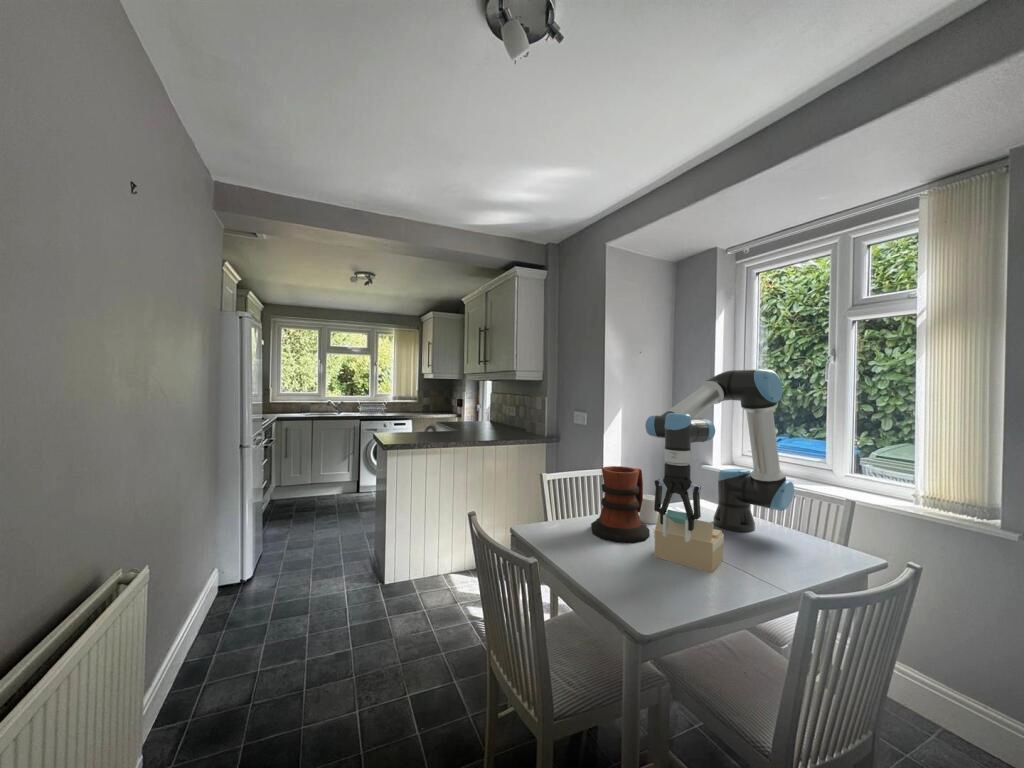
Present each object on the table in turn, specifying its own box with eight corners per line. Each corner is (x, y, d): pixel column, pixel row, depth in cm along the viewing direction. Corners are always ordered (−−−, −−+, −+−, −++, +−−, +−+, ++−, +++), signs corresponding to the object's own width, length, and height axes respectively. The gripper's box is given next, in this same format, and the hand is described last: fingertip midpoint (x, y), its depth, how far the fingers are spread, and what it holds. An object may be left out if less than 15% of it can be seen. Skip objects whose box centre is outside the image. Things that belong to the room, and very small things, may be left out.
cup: (649, 525, 173) (649, 500, 173) (629, 517, 183) (629, 493, 184) (664, 522, 176) (664, 498, 176) (643, 514, 187) (643, 491, 187)
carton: (667, 546, 150) (667, 519, 150) (723, 560, 138) (723, 531, 138) (654, 556, 141) (654, 527, 141) (713, 573, 129) (713, 541, 129)
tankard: (579, 531, 165) (579, 468, 165) (617, 518, 181) (617, 461, 181) (627, 548, 148) (628, 478, 148) (664, 532, 165) (665, 469, 165)
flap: (659, 512, 143) (650, 505, 137) (713, 523, 132) (706, 516, 126) (656, 529, 141) (646, 523, 135) (711, 542, 129) (703, 535, 124)
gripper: (642, 460, 134) (642, 533, 134) (706, 469, 122) (705, 549, 122) (652, 458, 140) (651, 527, 140) (713, 465, 128) (712, 542, 128)
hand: (676, 537), depth 131 cm, fingers closed on flap, 6 cm apart
